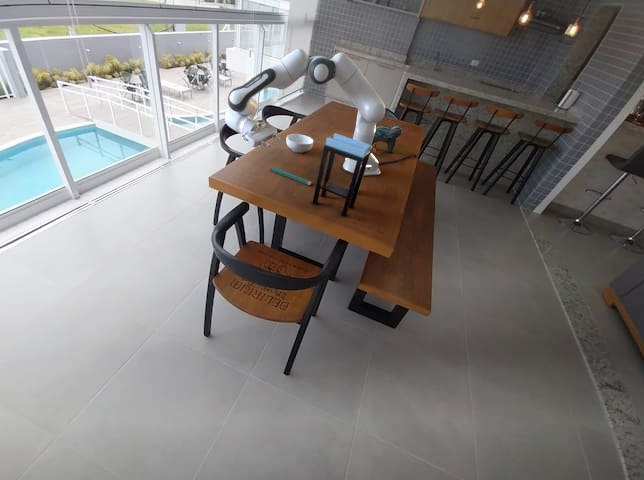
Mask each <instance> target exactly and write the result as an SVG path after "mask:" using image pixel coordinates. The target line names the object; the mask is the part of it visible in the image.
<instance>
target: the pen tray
mask: <svg viewBox="0 0 644 480" xmlns="http://www.w3.org/2000/svg"><path fill="white" fill-rule="evenodd" d="M325 140H326V141H325V145H328V146H331V147H333V148H336V149H339V150H342V151H345V152H348V153H351V154H354V155H356V156H359V157H362V158H364V157H365V156H366V155H367V154H368V153H370V150H371V146H372V147H373V145H369V144H366V143H363V142H360V141H357V140H354V139H353V138H351V137H348V136H345V135H342V134H339V133H336V132H335V133H333V138H332V137H329V136H327V137H326V139H325Z"/></svg>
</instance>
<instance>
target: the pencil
mask: <svg viewBox="0 0 644 480" xmlns="http://www.w3.org/2000/svg"><path fill="white" fill-rule="evenodd" d="M271 172H274V173H276V174H279V175H281V176H285V177H286V178H289V179H292V180H294V181H297V182H299V183H301V184H304V185H308V186H313V182H312V181H310V180H309V179H307V178H304V177H300V176H299V175H296V174H294V173H290V172H288V171H286V170H284V169H280V168H278V167H276V166H274V167H272V168H271Z"/></svg>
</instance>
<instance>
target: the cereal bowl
mask: <svg viewBox="0 0 644 480" xmlns="http://www.w3.org/2000/svg"><path fill="white" fill-rule="evenodd" d="M285 139H286V140H285V143H286V146H287V147H288V148H289V149H291V150H292V151H293V152H295V153H299V154H300V153H304V152H308V151H311V149H312V148H313V146H314V139H313V138H312V137H310V136H308V135H304V134H300V133H290V134H287V136H286V138H285Z"/></svg>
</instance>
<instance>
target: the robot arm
mask: <svg viewBox="0 0 644 480" xmlns="http://www.w3.org/2000/svg"><path fill="white" fill-rule="evenodd" d="M304 76H307V77H308V78H309V79H310V80H311V82H312V83H313V84H315V85H318V86H321V85H324V84H326V83H328V82H330V81H331V80H334V81H335V82H336V83H337V85H339V86H340V88H341V89H342V91H343V92H344V93H345V95H346V96H347V97H348V98H349V100H350V101H351V102H352V104H353V105H354V106H355V108H356V109H357V113H356V114H357V115H356V122H355V127H354V132H353V136H352V139H354V140H357V141H360V142H363V143H366V144H369V145H372V141H373V138H374V135H375V128H376V127H377V126H376V125H377V123H379V122H381V121H382V120H383V119H384V117H385V114H386V105H385V102H384V100H383V99H382V98H381V97H380V96H379V94H378V93H377V92H376V90H375V88H374V87H373V86H372V85H371V83H370V82H369V81H368V79H367V78H366V77H365V75H364V74H363V72H362V71H361V70H360V68H359V67H358V66H357V64H356V63H355V62H354V61H353V59H351V58H350V56H348V54H346V53H345V52H338V53H336V54H334V55H333V56H332V58H328V57H325V56H324V55H321V54H315V55H309V54H308V53H307V52H306V51H305V50H304V49H302V48H296V49H294V50H293V51H291V52H289V53H287V54H286V55H285V56H284V57H282V59H280V60H279V61H278V62H276V63H275V64H273V66H271V67H269V68H266V69H264V70H263V71H261V72H260V73H258V74H257V75H255V76H254V77H252V78H251V79H249V80H248V81H246V82H245V83H243V84H242V85H240V86H236V87H234V88H232V89H231V90H230V91H229V93H228V97H227V104H228V106H229V108H228V109H227V110H226V111H225V112H224V113H225V114H224V122H225V123H226V125H227V126H228V127H229V128H230V129H231V130H233V131H235V132H236V133H240V134H241V139H242V140H244V142H246V143H247V144H248V145H250V147H252V148H258V147H259V146H261V147H265V148H267V149H269V148H270V147H271V143H270V142H268V141H270V140H272V139H274V140H275V141H276V142H280V141H281V137H280V136H278V129H277V128H276V127H275V126H273V125H271V124H270V123H267V122H266V121H265V120H264V119H257V120H256V119H254V118H255V117H256V114H257V112H258V109H259V105H258V102H257V101H256V100H255V99H254V97H256V95H257V94H259V93H261V92H262V91H263V90H265V89H276V90H286V89H288V88H289V87H291V86H292V85H293V84H294V83H296V82H297V81H298V80H299V79H300V78H302V77H304ZM370 152H371V153H370V156H369V159H368V162H367V166H366V169H365V173H364V176H379V175H381V170H380V168H379V165H383V164H391V163H395V162H398V161H401V160H404V159H406V158H411V157H415V158H417V157H418V155H417V154H415V153H413V154H408V155H404V156H402V157H399V158H397V159H393V160H388V161H382V162H379V161H378V159H377V158H376V156H375V155H374V154H376V152H377V150H376V148H374V146H373V145H372V146H371V150H370ZM356 162H357V161H355V160H352V159H349V158H347V157H345V160H344V162H343V164H342V168H343V169H344V170H345V171H347V172H349V173H352V174H353V172H354V169H355V166H356ZM362 162H363V161H362ZM361 165H362V164H361ZM364 176H363V177H364Z"/></svg>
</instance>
